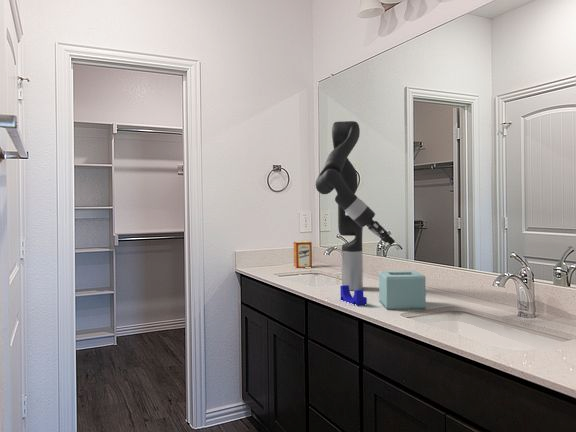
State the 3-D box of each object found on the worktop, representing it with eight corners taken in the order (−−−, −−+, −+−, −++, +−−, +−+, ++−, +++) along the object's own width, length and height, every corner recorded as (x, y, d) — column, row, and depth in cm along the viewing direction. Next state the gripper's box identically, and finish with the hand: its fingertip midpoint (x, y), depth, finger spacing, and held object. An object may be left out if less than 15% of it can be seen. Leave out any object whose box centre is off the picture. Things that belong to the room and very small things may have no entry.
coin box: (379, 301, 176) (379, 271, 176) (415, 301, 176) (414, 270, 176) (386, 309, 162) (386, 276, 162) (425, 309, 162) (425, 276, 162)
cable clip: (366, 305, 171) (366, 289, 171) (356, 306, 169) (356, 290, 169) (350, 299, 182) (350, 284, 182) (340, 300, 180) (340, 285, 180)
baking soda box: (308, 266, 278) (308, 240, 278) (311, 268, 272) (311, 241, 271) (293, 267, 276) (293, 241, 275) (296, 268, 269) (296, 242, 269)
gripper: (370, 205, 161) (402, 236, 162) (363, 204, 175) (393, 233, 176) (355, 220, 161) (387, 251, 162) (349, 218, 176) (379, 247, 176)
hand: (390, 242), depth 169 cm, fingers open, 8 cm apart
